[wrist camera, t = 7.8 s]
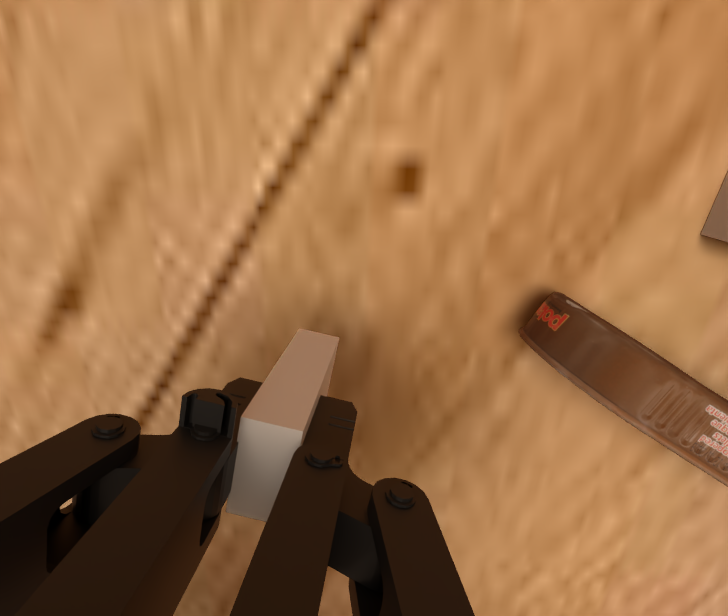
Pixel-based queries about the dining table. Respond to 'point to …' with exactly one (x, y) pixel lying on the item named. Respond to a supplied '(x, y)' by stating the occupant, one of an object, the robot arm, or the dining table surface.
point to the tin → (632, 382)
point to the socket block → (718, 216)
